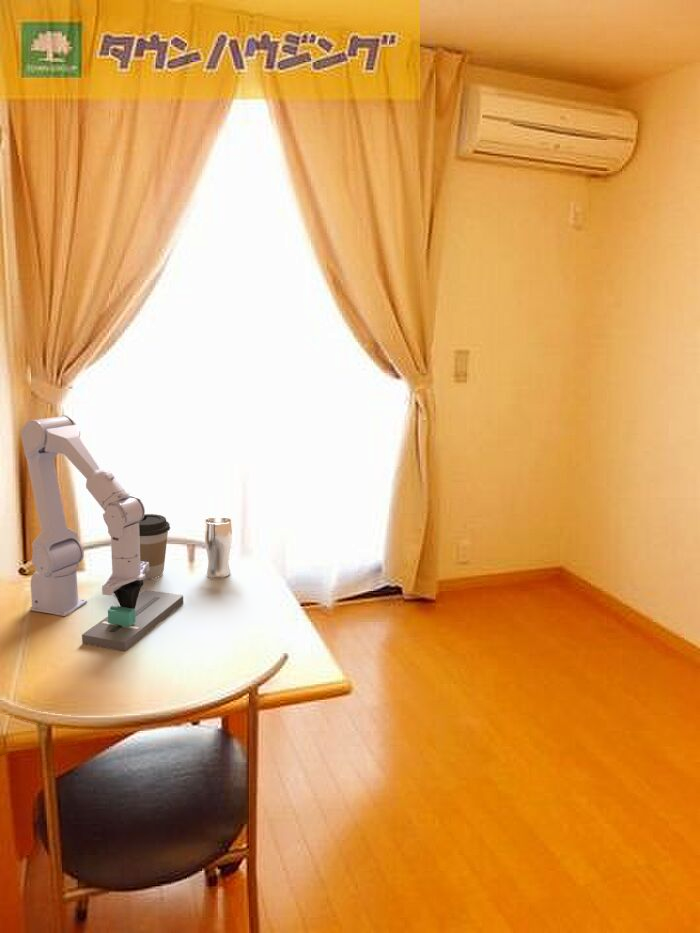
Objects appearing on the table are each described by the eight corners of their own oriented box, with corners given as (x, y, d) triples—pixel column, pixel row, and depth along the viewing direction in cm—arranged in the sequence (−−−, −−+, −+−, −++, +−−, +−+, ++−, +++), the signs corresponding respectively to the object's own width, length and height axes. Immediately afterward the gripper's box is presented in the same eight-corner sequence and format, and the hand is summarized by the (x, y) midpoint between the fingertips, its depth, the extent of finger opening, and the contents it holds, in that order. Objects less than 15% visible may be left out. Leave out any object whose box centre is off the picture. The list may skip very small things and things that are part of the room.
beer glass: (210, 568, 177) (210, 515, 174) (235, 570, 176) (235, 517, 173) (201, 578, 170) (200, 523, 167) (227, 580, 170) (226, 525, 166)
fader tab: (108, 623, 139) (107, 608, 138) (114, 618, 141) (114, 603, 141) (129, 626, 138) (128, 611, 137) (135, 621, 140) (134, 607, 139)
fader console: (82, 643, 135) (81, 634, 135) (145, 597, 158) (145, 589, 157) (125, 651, 133) (124, 641, 132) (183, 603, 155) (183, 595, 155)
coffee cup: (142, 563, 179) (140, 510, 175) (179, 569, 176) (178, 515, 172) (116, 578, 168) (114, 522, 165) (155, 585, 165) (154, 528, 161)
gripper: (122, 568, 131) (125, 631, 134) (160, 545, 145) (162, 602, 148) (92, 564, 132) (95, 625, 136) (132, 541, 146) (134, 598, 149)
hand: (128, 613), depth 142 cm, fingers closed
